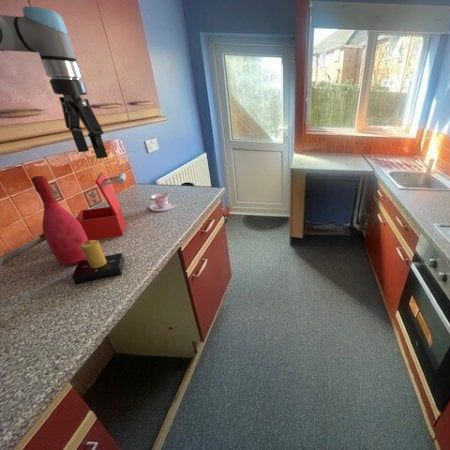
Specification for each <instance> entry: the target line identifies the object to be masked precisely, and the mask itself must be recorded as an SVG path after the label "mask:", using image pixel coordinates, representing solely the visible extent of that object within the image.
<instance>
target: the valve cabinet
mask: <svg viewBox="0 0 450 450" xmlns="http://www.w3.org/2000/svg"><path fill="white" fill-rule="evenodd" d="M75 218H76V219H77V220H78V222H79V223H80V224H81V226H82V227H83V229H84V232H85V234H86V236H87V239H88V241H90V240H102V239H103V240H104V239H108V238H114V237H120V236H124V234H125V229H126V224H127V222H126V220H125V217H124V213H123V210H122V207H121V206H120V207H119V211H118V214H117V215H114V213H113V211H112V209H111V208H110V206H105V207H96V208H88V209H82V210H80V211H79V212H78V214H77V216H76V217H75Z"/></svg>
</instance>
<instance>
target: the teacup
mask: <svg viewBox="0 0 450 450" xmlns="http://www.w3.org/2000/svg"><path fill="white" fill-rule="evenodd" d="M169 197H170V193H168V192H158V193H155V194H152V195H151V196H150V199H149V201H150V203H151V205H150V206H149V210H150V211H152V212H165V211H169V210H172V209H174V208H175V207H176V203H175V202H173V201H168V199H169ZM153 201H154V202H155V203H154V202H153Z"/></svg>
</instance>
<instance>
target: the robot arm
mask: <svg viewBox="0 0 450 450" xmlns="http://www.w3.org/2000/svg"><path fill="white" fill-rule="evenodd" d="M21 11H22V15H23V16H21V15H19V16H16V15H7V14H0V52H6V51H7V52H24V53H27V52H28V53H37V54H38V55H39V57H40V61H41V63H42V66H43V69H44V72H45V74H46V76H47V77H50V79H49V83H50V86H51V89H52V91H53V94H55V95H61V96H59V102H60V104H61V108H62V113H63V118H64V123H65V128H67V129H68V130H69V131H70V134H71V137H72V138H73V141H74V144H75V147H76V149H77V152H78V153H84V152H89V151H90V149H89V147H88V144H87V142H86V141H87V140H86V138H85V136H84V133H83V128H82V126H81V123H82V124H83V126H84V128H85V129H86V130H87V132H88V133H87V137H88V138H89V140H90V143H91V145H92V149H93V152H94V154H95V157H96V159H98V160H99V159H105V158H108V154H107V150H106V147H105V145H104V141H103V138H102V135H104V130H103V128H102V126H101V124H100V123H99V120H98V119H97V117H96V115H95V113H94V111H93V109H92V106H91V104H90V101H89V100H88V98H83V97H82V96H85V95H87V94H88V91H87V88H86V85H85V82H84V81H83V80H81V79H82V78H83V76H82V74H81V71H82V69H81V67H80V66H79V64H78V61H77V58H76V55H75V52H74V51H75V50H74V48H73V45H72V42H71V39H70V36H69V35H70V34H69V32H68V30H67V27H66V24H65V22H64V19H63V17H62V16H61V14H59V13H58V12H57V11H55V10H51V9H49V8H45V7H39V6H31V5H30V6H28V5H26V6H23V7H22V9H21Z"/></svg>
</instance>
